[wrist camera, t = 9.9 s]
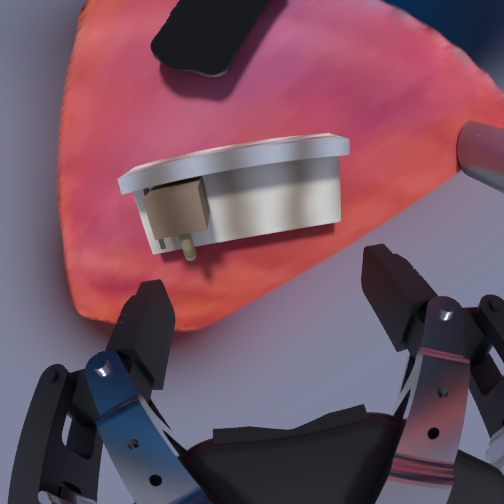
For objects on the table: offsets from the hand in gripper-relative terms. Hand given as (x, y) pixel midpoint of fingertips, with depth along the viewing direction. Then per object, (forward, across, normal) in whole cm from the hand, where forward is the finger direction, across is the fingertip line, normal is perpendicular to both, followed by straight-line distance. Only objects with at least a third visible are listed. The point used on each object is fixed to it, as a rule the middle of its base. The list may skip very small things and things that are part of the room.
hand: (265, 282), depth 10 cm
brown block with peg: (+18, +7, +3) cm, 20 cm away
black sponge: (+22, 0, -18) cm, 29 cm away
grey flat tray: (+21, +1, +2) cm, 21 cm away
